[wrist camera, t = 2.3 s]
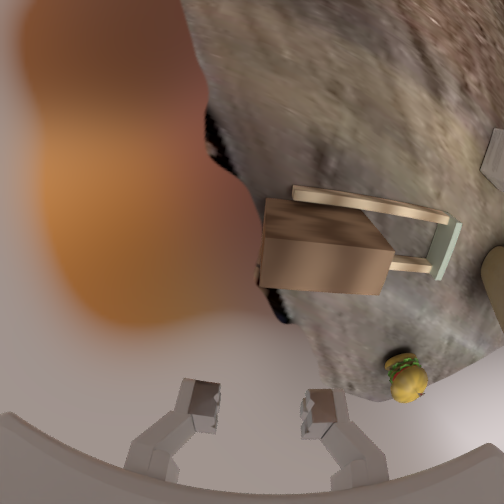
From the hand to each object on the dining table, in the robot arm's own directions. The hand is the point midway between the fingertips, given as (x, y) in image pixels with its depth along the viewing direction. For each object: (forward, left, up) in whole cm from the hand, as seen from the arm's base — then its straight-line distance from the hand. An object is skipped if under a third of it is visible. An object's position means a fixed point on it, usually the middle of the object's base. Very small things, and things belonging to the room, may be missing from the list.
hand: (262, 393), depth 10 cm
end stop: (+21, +15, -25) cm, 36 cm away
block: (+6, +2, -25) cm, 26 cm away
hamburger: (+40, -2, -25) cm, 47 cm away
